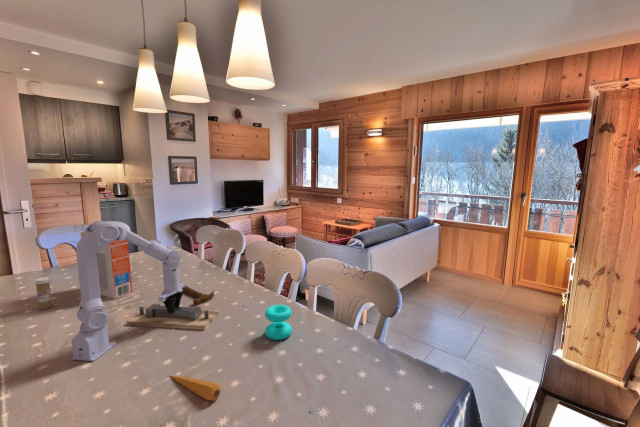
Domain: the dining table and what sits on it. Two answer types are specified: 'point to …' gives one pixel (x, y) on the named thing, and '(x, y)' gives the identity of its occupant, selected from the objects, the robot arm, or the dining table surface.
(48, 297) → the sprinkles bottle
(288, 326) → the donuts
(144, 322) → the oak board
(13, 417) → the dining table surface
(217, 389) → the carrot
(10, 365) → the dining table surface
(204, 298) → the hammer
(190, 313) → the drawer pull handle
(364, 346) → the dining table surface
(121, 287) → the pasta box
